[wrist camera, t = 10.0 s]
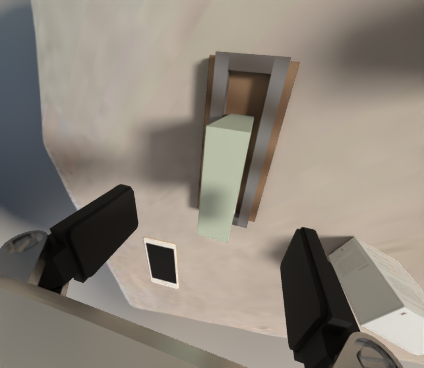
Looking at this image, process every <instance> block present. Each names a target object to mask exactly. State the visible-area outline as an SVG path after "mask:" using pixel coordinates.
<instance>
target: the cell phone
mask: <svg viewBox="0 0 424 368" xmlns="http://www.w3.org/2000/svg"><path fill="white" fill-rule="evenodd" d="M144 244H145V250H146V255H147V260H148V266H149V271H150V276H151V281H152V282H154V283H158V284H161V285H165V286H168V287H172V288H176V289H179V284H178V270H177V256H176V245H175V244H173V243H169V242H165V241H161V240H156V239H152V238H148V237H144Z"/></svg>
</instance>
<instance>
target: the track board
mask: <svg viewBox="0 0 424 368" xmlns="http://www.w3.org/2000/svg"><path fill="white" fill-rule="evenodd" d="M290 60H291V57H280V56H267V55H254V54H241V53H228V52H216V55H210V57H209V70H208V82H207V95H206V107H205V119H204V132H203V144H202V157H201V169H200V182H199V194H198V207H197V208H198V209H199V205H200V194H201V182H202V170H203V159H204V147H205V135H206V126H207V125H209V124H211V123H213V122H215V121H217V120H219V119H221V118H223V117H225V116H227V115H229V114H238V115H246V116H253V117H254V121H253V126H252V131H251V136H250V140H249V145H248V150H247V155H246V160H245V165H244V169H243V174H242V179H241V184H240V190H239V195H238V200H237V204H236V209H235V214H234V217H233V221H232V225H236V226H240V227H244V228H247V224H248V220H249V221H253V222H254V221H255V218H256V214H257V211H258V207H259V204H260V200H261V197H262V193H263V190H264V186H265V183H266V179H267V176H268V172H269V169H270V165H271V162H272V158H273V155H274V151H275V147H276V144H277V140H278V137H279V133H280V130H281V126H282V123H283V119H284V116H285V112H286V109H287V105H288V102H289V98H290V95H291V91H292V88H293V84H294V81H295V77H296V74H297V70H298V67H299V63H300V62H290Z"/></svg>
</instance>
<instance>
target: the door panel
mask: <svg viewBox="0 0 424 368" xmlns="http://www.w3.org/2000/svg"><path fill="white" fill-rule="evenodd" d="M253 121H254V117H253V116H246V115H238V114H229V115H227V116H225V117H223V118H221V119H219V120H217V121H215V122H213V123H211V124H209V125H207V126H206V135H205V147H204V159H203V170H202V182H201V194H200V205H199V217H198V229H197V235H200V236H204V237H207V238H211V239H215V240H219V241H222V242H226V243H228V240H229V235H230V230H231V226H232V221H233V217H234V214H235V209H236V204H237V200H238V195H239V190H240V184H241V179H242V174H243V169H244V165H245V160H246V155H247V150H248V145H249V140H250V136H251V131H252V126H253Z"/></svg>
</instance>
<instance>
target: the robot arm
mask: <svg viewBox="0 0 424 368" xmlns="http://www.w3.org/2000/svg"><path fill="white" fill-rule="evenodd" d="M137 227H138V218H137V211H136V204H135V197H134V191H133V190H132V188H131V187H130V186H127V185H122V184H120V185H118V186H116V187H115V188H113V189H112V190H110V191H108V192H107V193H105V194H104V195H102V196H100V197H99V198H97V199H96V200H94V201H92V202H91V203H89V204H88V205H86V206H85V207H83V208H81V209H80V210H78V211H77V212H75V213H74V214H72V215H70V216H69V217H67V218H66V219H64V220H62V221H61V222H59V223H58V224H56V225H54V226H53V227H52V228H50V230H51V234H50V235H48V234H47V233H46V232H45V231H42V230H34V231H29V232H25V233H22V234H19V235H17V236H15V237H13V238H11V239H10V240H9V241H7V242H6V243H5V244H4V245H3V246H2V247H1V248H0V368H246V367H245V366H242V365H240V364H237V363H235V362H232V361H230V360H227V359H225V358H222V357H219V356H217V355H214V354H212V353H209V352H207V351H204V350H202V349H199V348H197V347H194V346H192V345H189V344H187V343H184V342H182V341H179V340H177V339H174V338H171V337H169V336H166V335H164V334H161V333H159V332H156V331H153V330H151V329H148V328H145V327H143V326H141V325H138V324H136V323H133V322H130V321H128V320H125V319H123V318H120V317H118V316H115V315H112V314H110V313H107V312H105V311H102V310H99V309H97V308H94V307H92V306H89V305H86V304H84V303H81V302H79V301H76V300H73V299H71V298H68V297H66V293H67V289H68V284H69V281H70V280H71V279H72V278H74V280H76V281H79V282H82V283H84V282H85V281H86V280H87V278H88V277H91V276H93V275H94V274H95V273H96V272H97V270H99V268H100V267H101V266H102V265H103V264H104V263H105V262H106V261H107V260H108V259H109V258H110V257H111V256H112V255H113V253H114V252H115V251H116V250H117V249H118V248H119V247H120V246H121V245H122V244H123V243H124V242H125V241H126V240H127V238H128V237H129V236H130V235H131V234H132V233H133V232H134V231H135V230H136V229H137ZM280 271H281V280H282V290H283V299H284V308H285V317H286V326H287V335H288V344H289V348H290V349H291V350H293V352H294V359H295V361H298V362H301V363H304V366H305V368H403V367H402V365H401V363H400V362H399V361H398V359H397V358H396V357H395V356H394V354H393V353H392V352H391V351H390V350H389V349H388V348H387V347H386V346H385V345H384V344H382V343H381V342H380V341H378V340H377V339H376V338H374V337H372V336H370V335H368V334H366V333H362V332H360V330H359V327H358V325H357V322H356V320H355V318H354V315H353V313H352V311H351V308H350V306H349V303H348V301H347V299H346V296H345V294H344V291H343V289H342V287H341V284H340V282H339V279H338V277H337V275H336V272H335V270H334V268H333V266H332V264H331V263H330V262H329V261H328V260H327V258H326V255H325V253H324V250H323V248H322V245H321V243H320V240H319V238H318V235H317V233H316V231H315V230H313V229H309V228H305V227H302V228H301V229H297V230H296V232H295V234H294V236H293V238H292V240H291V243H290V245H289V247H288V249H287V251H286V253H285V256H284V258H283V260H282V262H281V266H280Z"/></svg>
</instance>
